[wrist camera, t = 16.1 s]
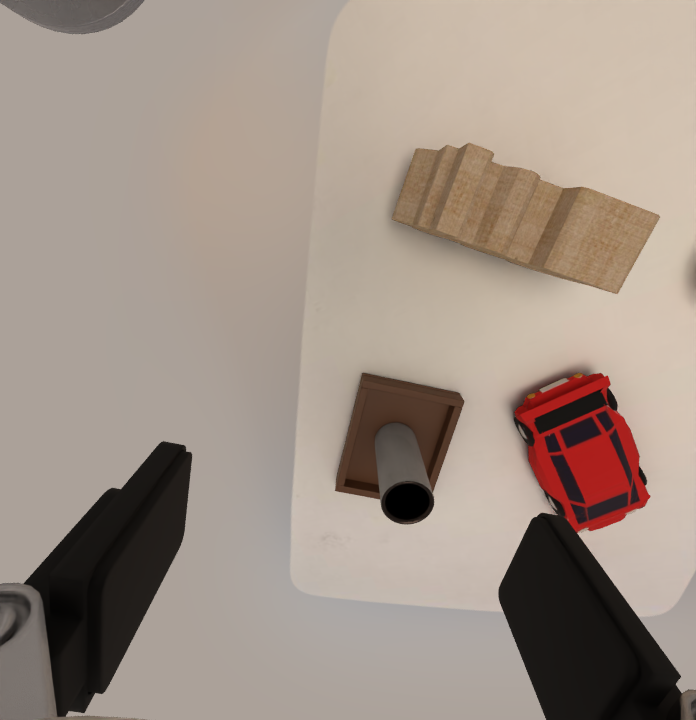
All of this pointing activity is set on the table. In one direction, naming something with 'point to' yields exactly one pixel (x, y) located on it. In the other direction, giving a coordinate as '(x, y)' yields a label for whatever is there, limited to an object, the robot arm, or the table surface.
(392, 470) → the grey hollow cylinder
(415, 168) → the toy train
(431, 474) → the tray
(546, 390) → the toy car
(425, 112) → the table surface
